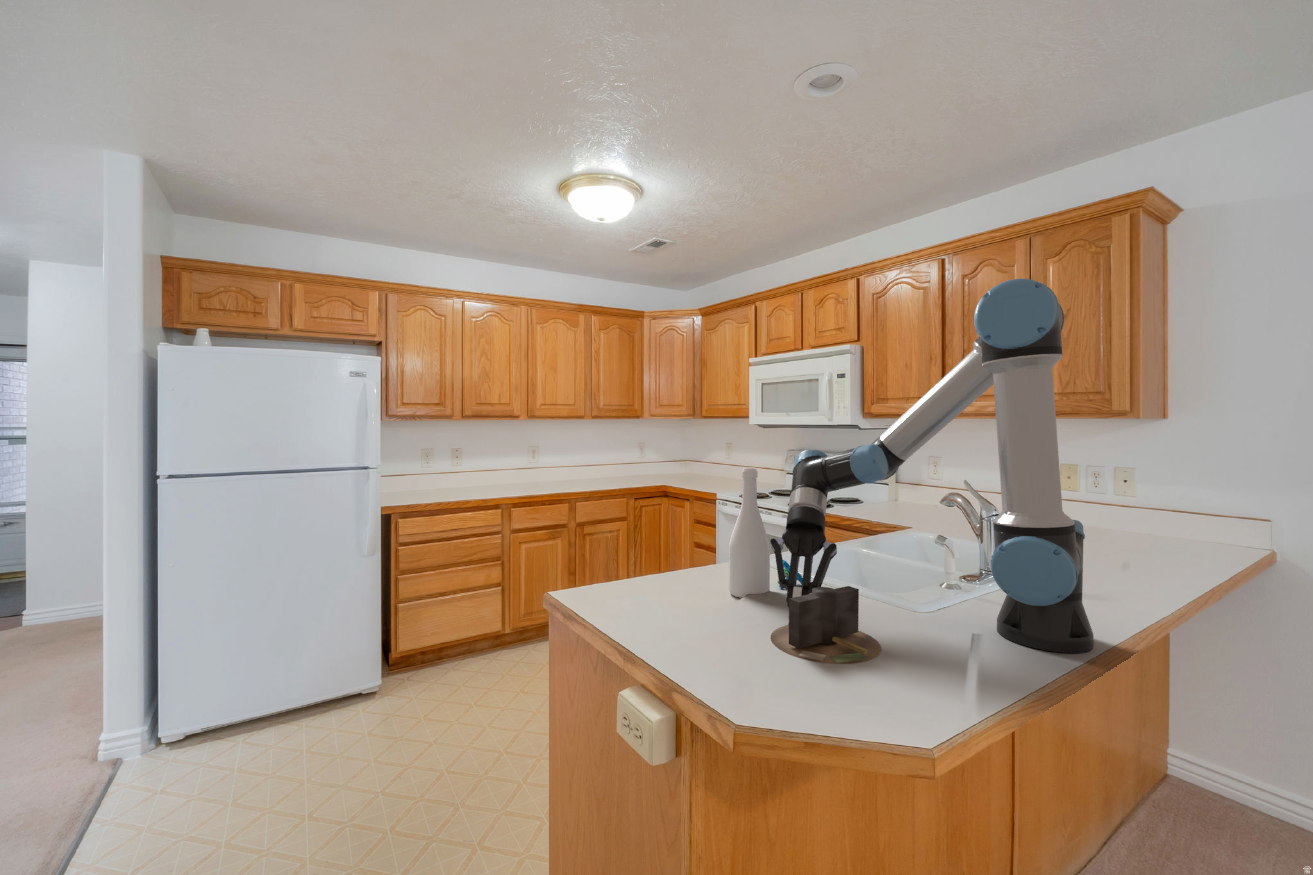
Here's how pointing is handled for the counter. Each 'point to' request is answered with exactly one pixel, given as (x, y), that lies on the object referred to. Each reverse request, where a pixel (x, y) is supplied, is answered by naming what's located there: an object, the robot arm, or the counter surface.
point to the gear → (786, 571)
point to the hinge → (824, 617)
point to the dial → (829, 648)
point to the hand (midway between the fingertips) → (794, 623)
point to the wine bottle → (749, 544)
